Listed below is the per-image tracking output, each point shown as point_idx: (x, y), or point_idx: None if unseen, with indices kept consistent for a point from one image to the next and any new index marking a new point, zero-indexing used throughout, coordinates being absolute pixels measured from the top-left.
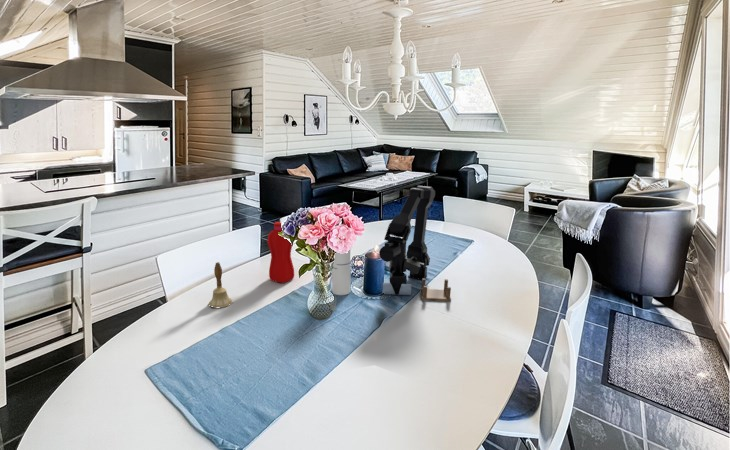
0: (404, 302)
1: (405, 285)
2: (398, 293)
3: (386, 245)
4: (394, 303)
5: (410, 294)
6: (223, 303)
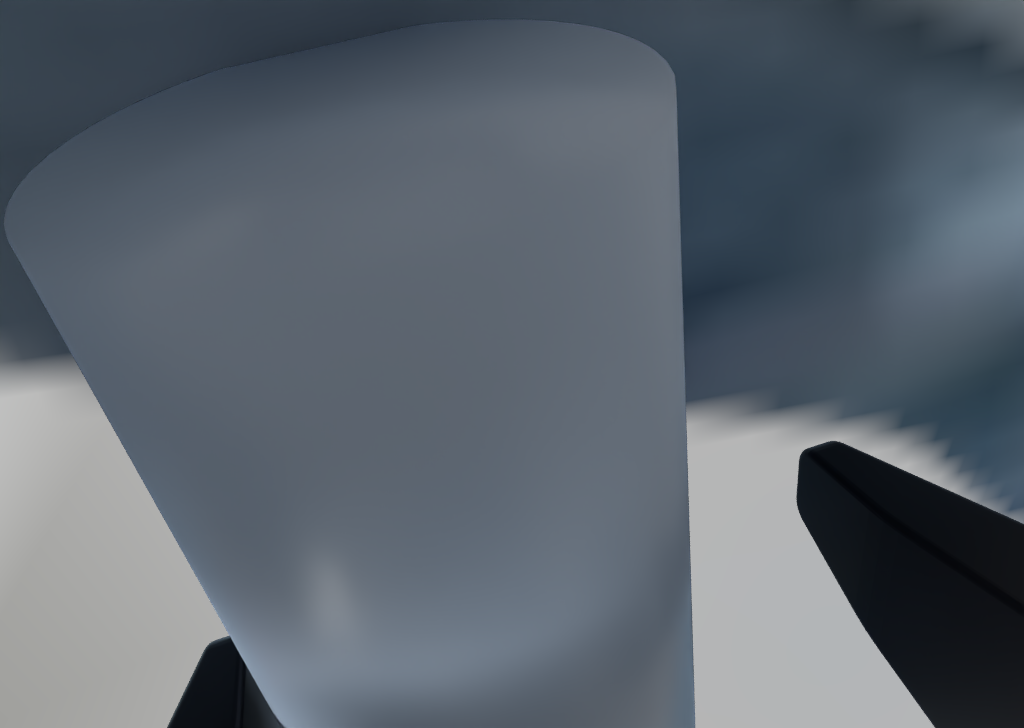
0: (982, 138)
1: (600, 506)
2: (895, 472)
3: None
4: (1003, 366)
5: (554, 37)
6: None
